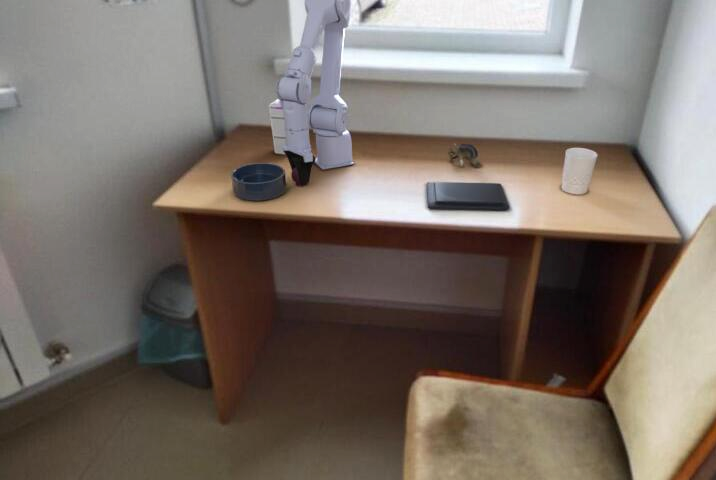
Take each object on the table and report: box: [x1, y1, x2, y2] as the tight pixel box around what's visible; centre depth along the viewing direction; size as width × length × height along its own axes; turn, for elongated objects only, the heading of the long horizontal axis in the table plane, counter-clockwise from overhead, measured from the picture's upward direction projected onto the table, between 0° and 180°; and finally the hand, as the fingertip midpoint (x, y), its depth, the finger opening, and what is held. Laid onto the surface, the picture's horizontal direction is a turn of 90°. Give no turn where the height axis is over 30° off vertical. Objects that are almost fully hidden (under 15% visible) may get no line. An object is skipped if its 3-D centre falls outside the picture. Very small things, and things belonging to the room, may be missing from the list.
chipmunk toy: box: [446, 143, 482, 168], centre depth 158 cm, size 8×7×9 cm
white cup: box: [561, 147, 599, 195], centre depth 145 cm, size 8×8×10 cm
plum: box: [290, 167, 308, 187], centre depth 144 cm, size 5×5×6 cm
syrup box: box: [268, 98, 286, 156], centre depth 161 cm, size 6×6×14 cm
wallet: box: [426, 181, 510, 212], centre depth 141 cm, size 20×2×15 cm
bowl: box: [230, 162, 288, 201], centre depth 140 cm, size 13×13×5 cm
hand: (301, 179), depth 145 cm, fingers closed on plum, 5 cm apart
